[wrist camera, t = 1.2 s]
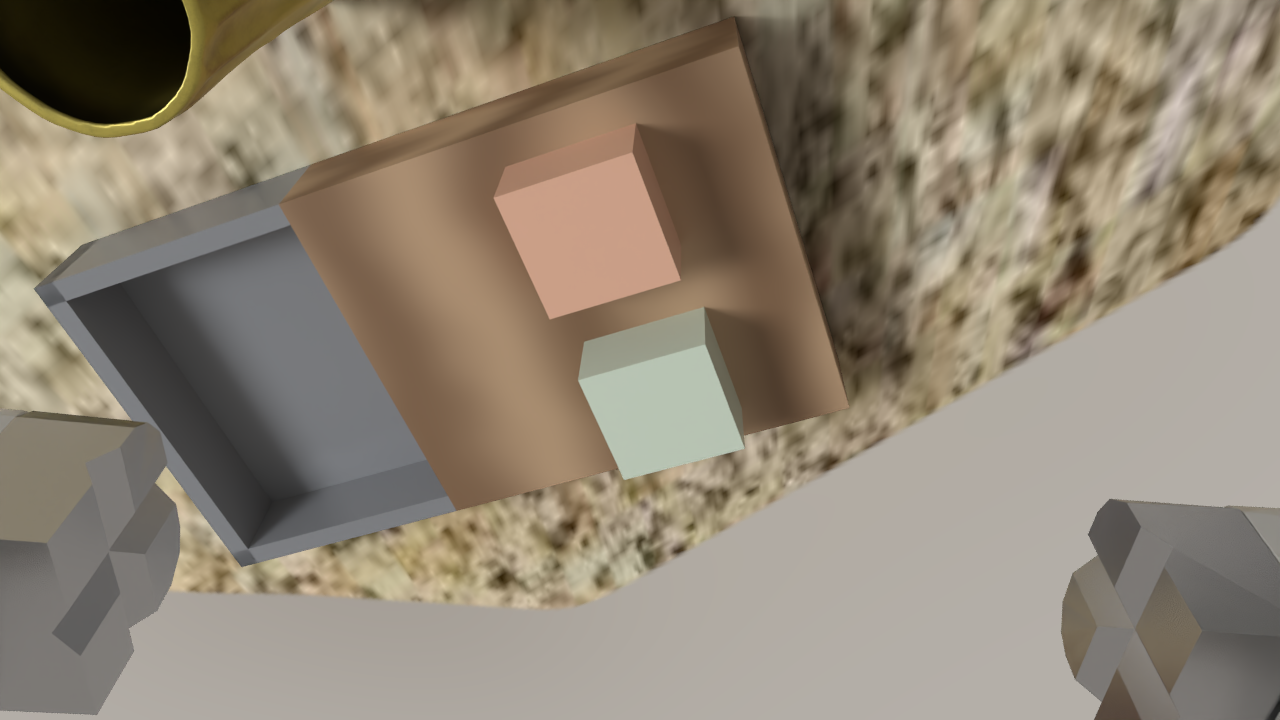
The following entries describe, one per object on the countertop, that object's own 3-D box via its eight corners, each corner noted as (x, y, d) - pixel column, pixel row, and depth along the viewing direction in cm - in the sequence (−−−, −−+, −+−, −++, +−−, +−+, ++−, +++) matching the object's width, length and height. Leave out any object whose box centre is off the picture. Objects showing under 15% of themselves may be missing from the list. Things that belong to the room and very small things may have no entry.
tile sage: (704, 306, 36) (705, 344, 34) (741, 407, 39) (745, 448, 36) (584, 341, 37) (578, 380, 35) (627, 438, 40) (624, 479, 37)
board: (733, 16, 34) (738, 46, 32) (837, 357, 41) (849, 407, 38) (310, 165, 38) (278, 204, 35) (471, 457, 45) (456, 510, 42)
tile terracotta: (635, 123, 33) (632, 152, 31) (681, 245, 35) (681, 280, 33) (505, 166, 34) (493, 197, 32) (557, 283, 36) (549, 319, 34)
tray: (310, 165, 38) (278, 204, 35) (471, 457, 45) (456, 510, 42) (82, 244, 40) (33, 288, 37) (269, 512, 47) (241, 567, 44)
